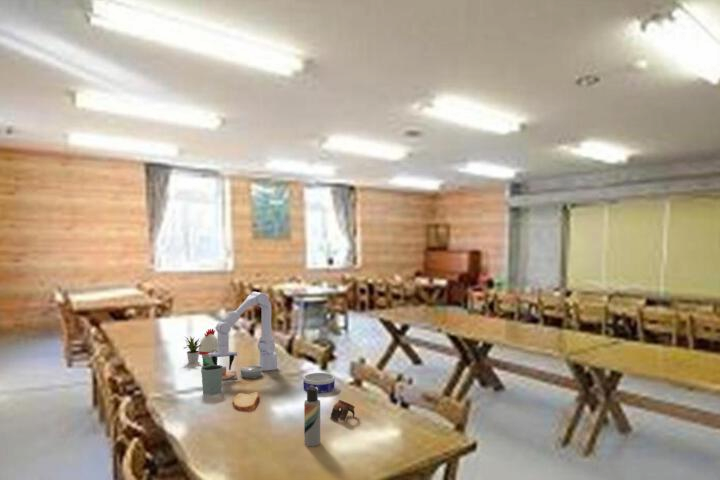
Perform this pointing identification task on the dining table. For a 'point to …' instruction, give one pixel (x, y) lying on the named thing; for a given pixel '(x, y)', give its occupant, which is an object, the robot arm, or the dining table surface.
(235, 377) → the mat
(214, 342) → the cream domed piece
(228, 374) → the lid
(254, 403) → the bread slice
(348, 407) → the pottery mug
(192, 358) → the house plant
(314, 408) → the lotion bottle
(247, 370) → the bowl
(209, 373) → the embossed green pot
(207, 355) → the food container
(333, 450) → the dining table surface
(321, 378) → the dog bowl
